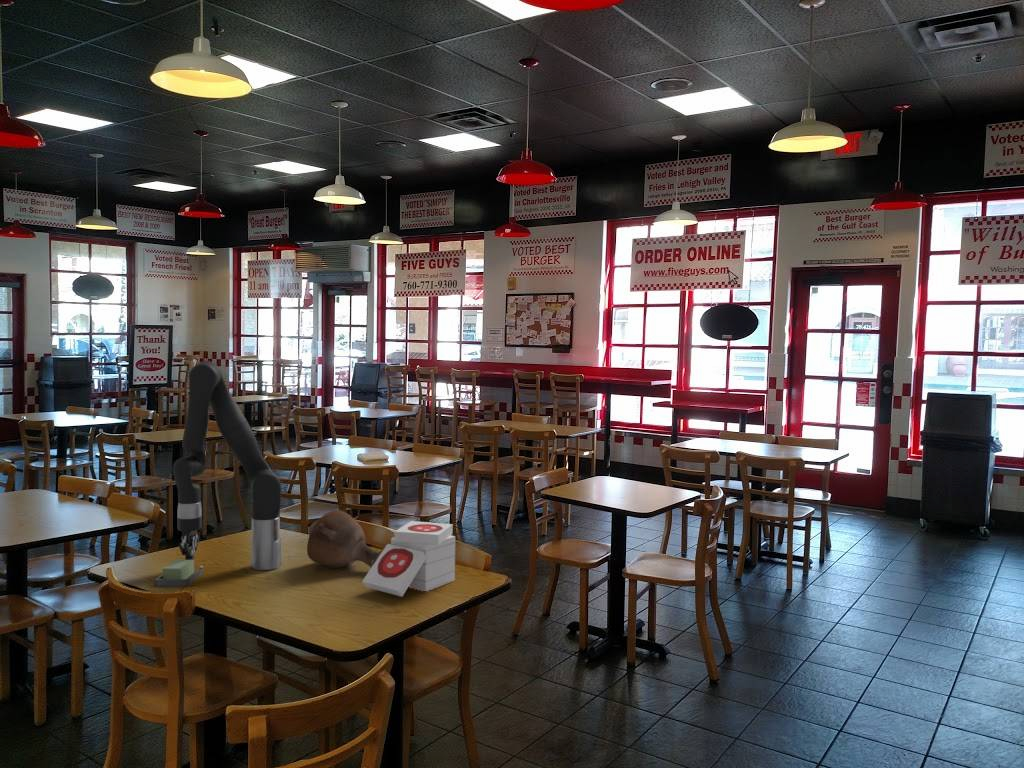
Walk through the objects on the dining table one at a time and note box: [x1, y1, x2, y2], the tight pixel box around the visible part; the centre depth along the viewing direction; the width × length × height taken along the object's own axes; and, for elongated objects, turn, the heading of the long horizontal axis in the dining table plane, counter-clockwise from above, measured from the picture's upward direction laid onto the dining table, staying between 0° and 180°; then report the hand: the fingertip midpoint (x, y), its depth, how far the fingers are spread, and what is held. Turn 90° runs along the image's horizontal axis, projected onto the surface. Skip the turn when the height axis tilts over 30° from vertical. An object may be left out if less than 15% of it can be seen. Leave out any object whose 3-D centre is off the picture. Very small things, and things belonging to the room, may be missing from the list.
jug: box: [306, 509, 384, 569], centre depth 266 cm, size 20×20×30 cm
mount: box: [154, 565, 203, 587], centre depth 250 cm, size 11×14×3 cm
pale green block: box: [162, 558, 195, 579], centre depth 253 cm, size 6×10×5 cm, turn 0°
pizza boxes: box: [362, 520, 456, 597], centre depth 248 cm, size 19×30×18 cm, turn 146°
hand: (189, 565), depth 260 cm, fingers closed
